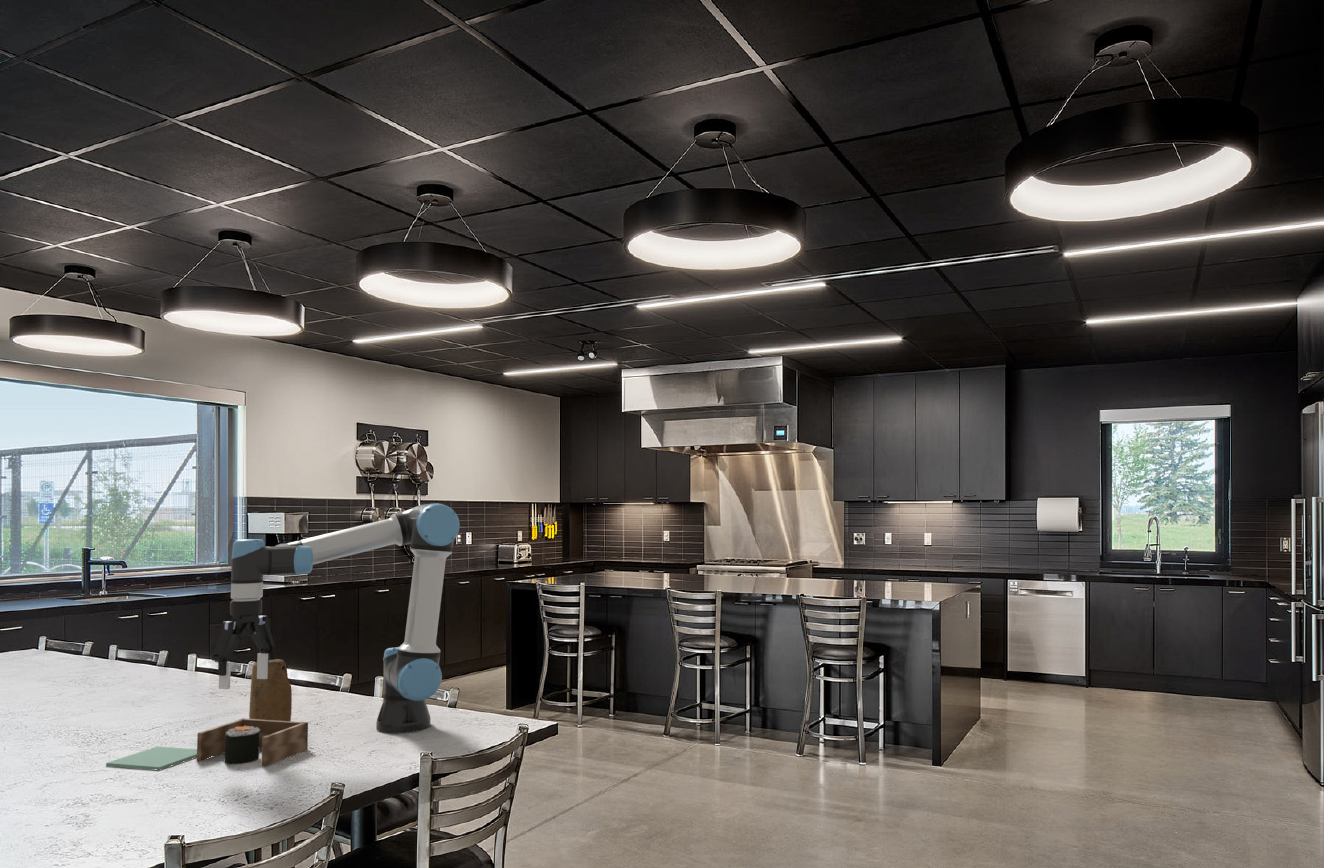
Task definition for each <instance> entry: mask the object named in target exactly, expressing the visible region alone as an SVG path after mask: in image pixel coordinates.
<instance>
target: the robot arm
mask: <svg viewBox="0 0 1324 868" xmlns="http://www.w3.org/2000/svg"><path fill="white" fill-rule="evenodd" d="M460 526H461V525H460V519H459V517H458V514H457V513H456V512H455V511H454V509H453V508H451V507H450V506H448V505H446V504H443V503H439V502H437V503H434V502H431V503H423V504H419V505H417V506H414V507H412V508H409V509H407V510H403V511H400V512H396V513H392V514H391V516H390V517H389V518H386V519H383V520H378V521H374V522H370V523H365V524H361V525H356V526H352V527H349V528H346V529H341V530H336V531H333V532H329V533H323V534H320V535H316V536H312V537H308V538H304V539H300V540H295V541H291V542H287V543H280V544H279V543H278V544H276V545H275V546H266V545H265V541H264V539H263V538H262V539H261V538H260V539H259V538H256V539H255V538H254V539H253V538H247V539H245V538H243V539H237V540H235V541H233V543H232V550H231V551H232V552H231V563H230V564H231V568H230V569H231V571H230V572H231V574H230V599H231V601H230V602H229V603H230V604H229V615H230V616H231V617H232V620H231V621H230V620H229V621H228V620H227V621H226V620H224V621H223V622H222V626H221V631H220V634H219V637H218V639H217V642H216V645H215V646H214V647H215V648H214V651H213V653H212V656H211V661H214V663H217V664H218V665H217V668H218V670H217V671H218V672H217V674H218V689H220V690H230V689H231V669H232V668H231V665H232V662H231V661H229V660H230V658H231V657H232V654H233V653H234V651H235V649H236V648H237V646H238V644H239V642H240V641H241V640H242V639H243V638H245V637H246V638H247V637H250V639H252V641H253V643H254V644H255V646H256V648H257V649H258V650H259V653H257V660H256V662H257V679H267V678H268V664H269V660H270V654H273V652H274V650H275V649H276V644H275V640H274V638H273V635H272V632H271V629H270V628H271V627H270V626H269V617H268V616H269V615H268V616H267V615H262V613H263V600H262V599H261V598H262V597H264V596H263V595H264V594H263V593H264V590H263V589H264V579H263V578H264V576H284V575H285V576H289V575H290V576H292V575H293V576H294V575H295V576H296V575H297V576H299V575H308V574H310V573H311V572H312V571H313V565H317V564H321V563H324V562H328V561H329V562H330V561H332V560H337V559H340V558H345V557H349V556H352V555H357V554H360V553H365V552H368V551H373V550H376V549H380V548H384V547H388V546H392V545H397V546H399V547H401V546H405V545H410V548H409V550H410V552H411V553H412V554H413V556H414V560H413V569H412V576H411V577H412V578H411V584H410V585H411V586H410V593H409V601H408V607H407V617H406V625H405V632H404V633H405V635H404V641H403V643H402V644H400V646H397V647H388V648H386V649H385V650H384V652H383V658H382V660H383V679H382V680H383V683H382V684H383V688H382V689H383V690H382V691H383V692H382V695H383V697H382V703H381V707H380V710H379V712H378V715H377V719H376V724H375V725H376V731H378V732H381V733H388V734H403V733H405V734H406V733H412V732H418V731H422V730H426V729H427V728H429V727H430V726H431V720H432V719H431V715H430V712H429V707H428V706H427V702H426V700H428V699H430V698H431V697H433V696H434V695H435V694H436V693H437V692H438V690H439V688H440V687H441V684H442V681H443V680H442V679H443V675H442V670H441V667H440V659H441V651H442V650H441V649H440V648H439V647H438V645H437V636H438V627H439V619H440V612H441V603H442V594H443V586H444V577H445V569H446V568H445V567H446V560H447V558H448V557H449V556H450V555H452V554H453V548H454V540H455V539H456V538H457V536H458V534H459V531H460Z"/></svg>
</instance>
